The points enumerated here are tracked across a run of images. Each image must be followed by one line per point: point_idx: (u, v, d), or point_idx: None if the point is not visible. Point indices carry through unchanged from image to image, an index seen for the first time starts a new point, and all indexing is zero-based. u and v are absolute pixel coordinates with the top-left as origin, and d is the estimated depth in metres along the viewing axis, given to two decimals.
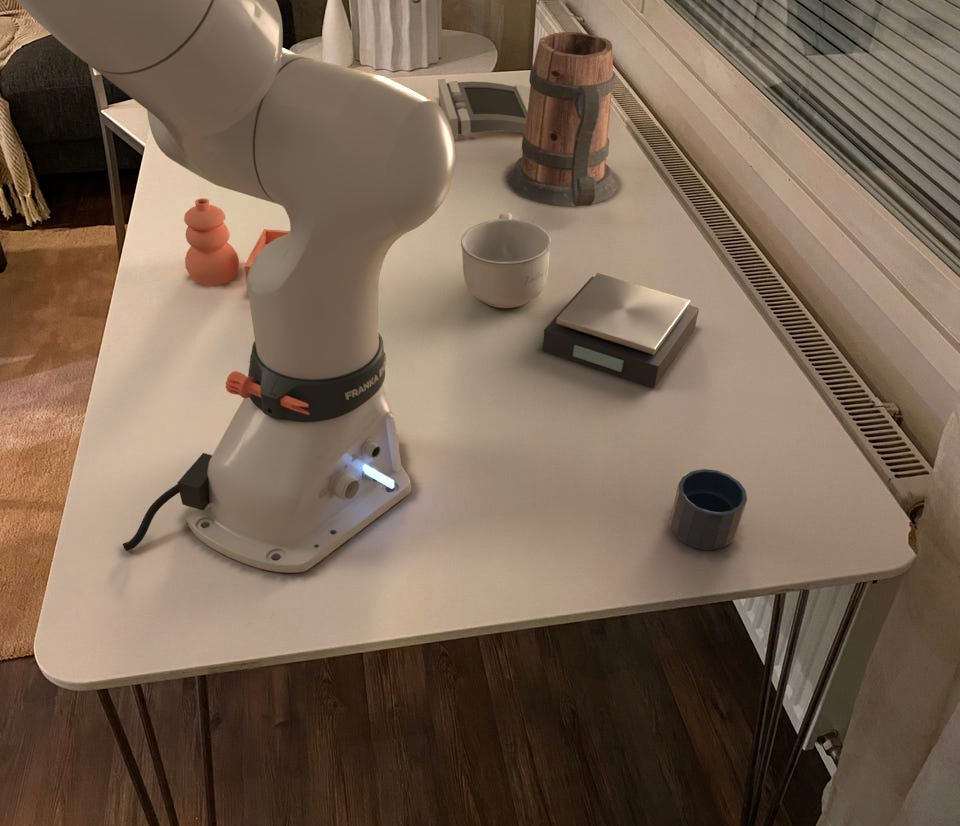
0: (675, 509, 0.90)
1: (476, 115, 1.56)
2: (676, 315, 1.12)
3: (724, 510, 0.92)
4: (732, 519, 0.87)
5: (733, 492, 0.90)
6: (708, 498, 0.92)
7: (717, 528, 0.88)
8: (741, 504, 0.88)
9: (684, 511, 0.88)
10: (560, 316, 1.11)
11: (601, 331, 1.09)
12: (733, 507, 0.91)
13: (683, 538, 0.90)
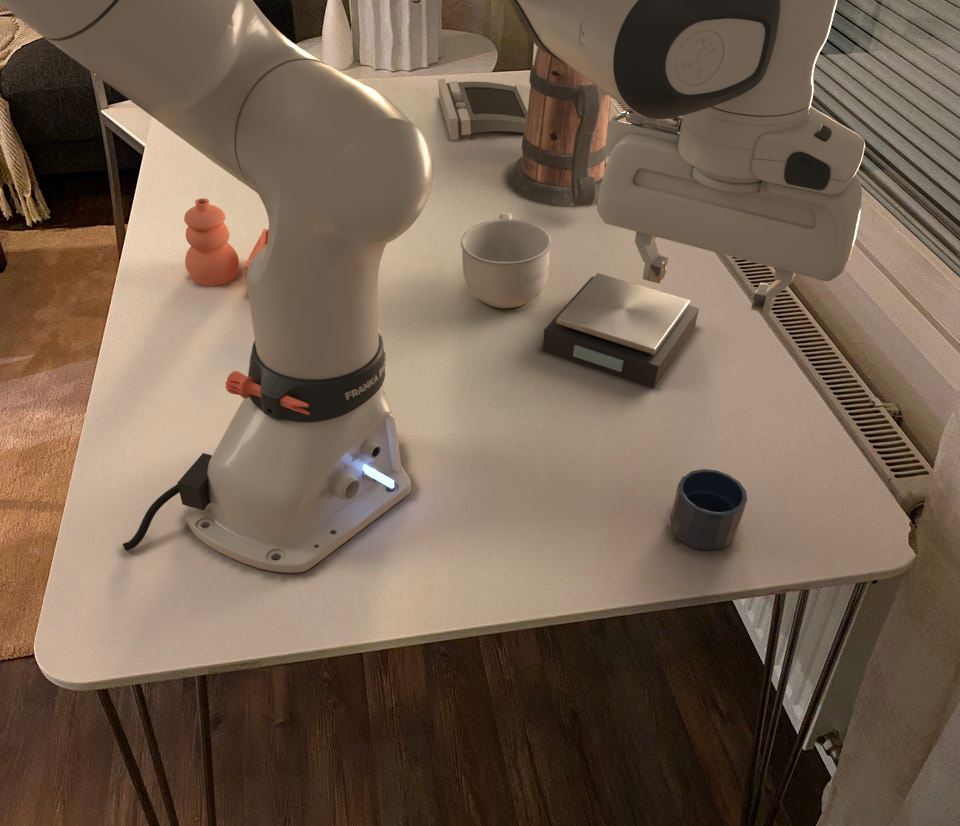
0: (675, 509, 0.90)
1: (476, 115, 1.56)
2: (676, 315, 1.12)
3: (724, 510, 0.92)
4: (732, 519, 0.87)
5: (733, 492, 0.90)
6: (708, 498, 0.92)
7: (717, 528, 0.88)
8: (741, 504, 0.88)
9: (684, 511, 0.88)
10: (560, 316, 1.11)
11: (601, 331, 1.09)
12: (733, 507, 0.91)
13: (683, 538, 0.90)
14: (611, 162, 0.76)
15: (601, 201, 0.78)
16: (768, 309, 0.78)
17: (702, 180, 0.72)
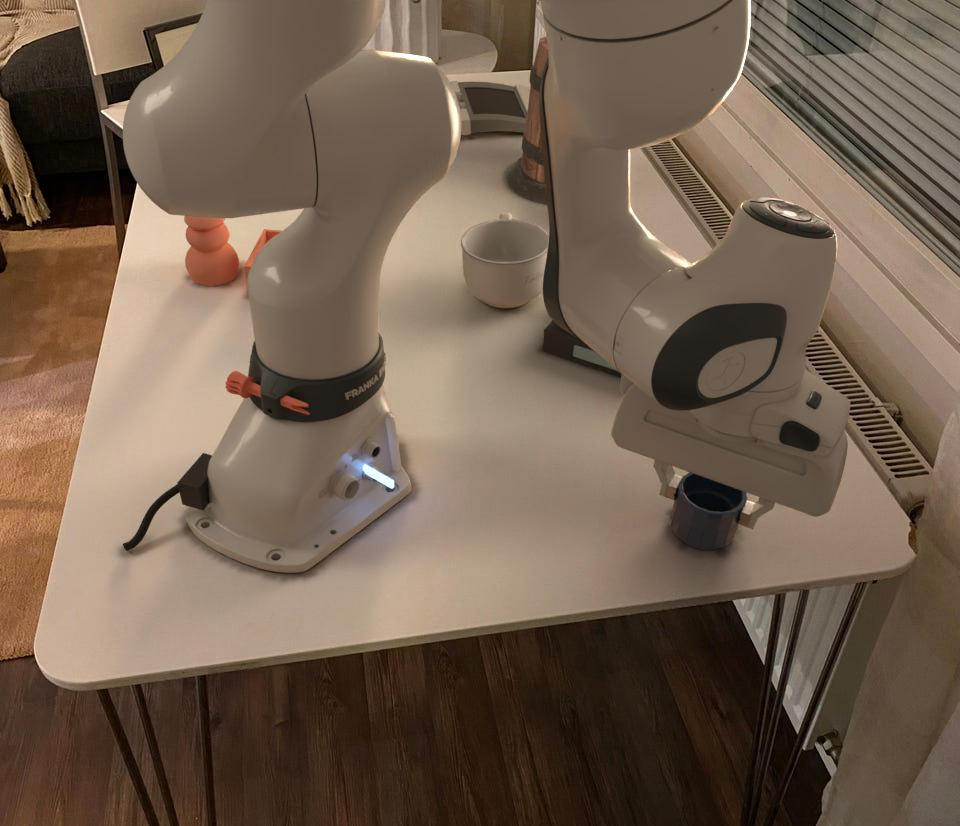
0: (675, 509, 0.90)
1: (476, 115, 1.56)
2: None
3: (724, 510, 0.92)
4: (732, 519, 0.87)
5: (733, 492, 0.91)
6: (708, 498, 0.92)
7: (717, 528, 0.88)
8: (741, 504, 0.88)
9: (684, 511, 0.88)
10: None
11: None
12: (733, 507, 0.91)
13: (683, 538, 0.90)
14: (625, 401, 0.85)
15: (615, 430, 0.88)
16: (752, 526, 0.88)
17: (706, 429, 0.81)
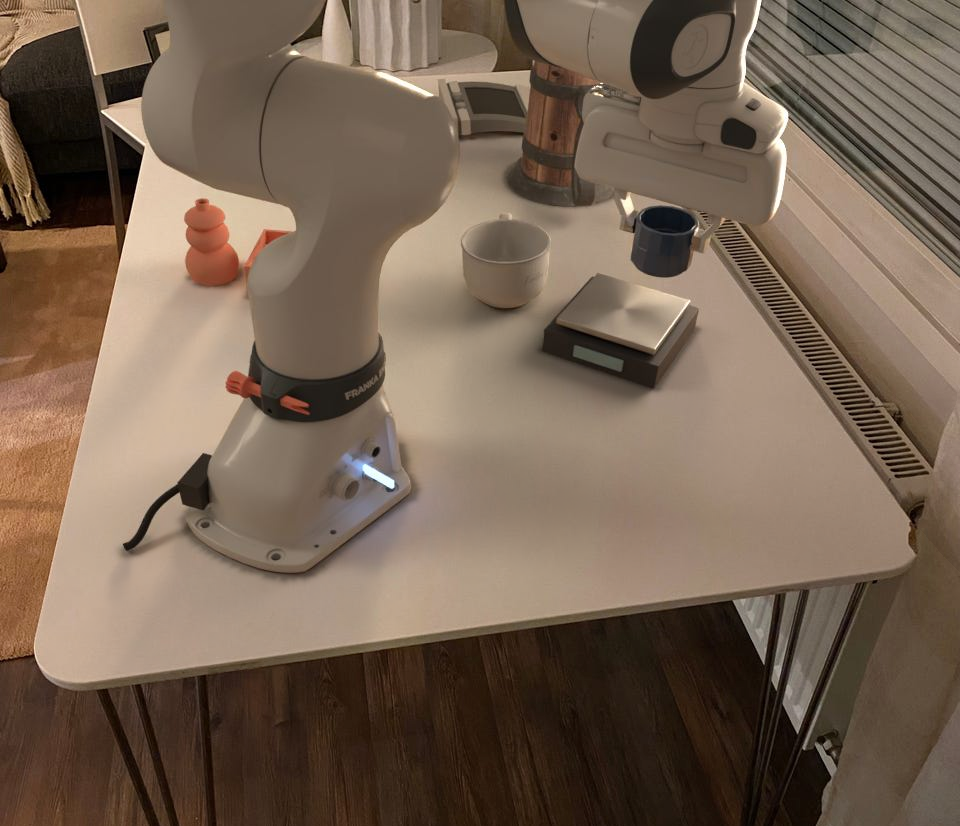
0: (634, 239, 0.98)
1: (476, 115, 1.56)
2: (676, 315, 1.12)
3: None
4: (684, 241, 0.95)
5: (687, 225, 0.99)
6: None
7: (671, 250, 0.96)
8: (693, 228, 0.96)
9: (641, 236, 0.96)
10: (560, 316, 1.11)
11: (601, 331, 1.09)
12: None
13: (640, 266, 0.98)
14: (586, 127, 0.93)
15: (578, 160, 0.96)
16: (703, 249, 0.96)
17: (657, 142, 0.89)
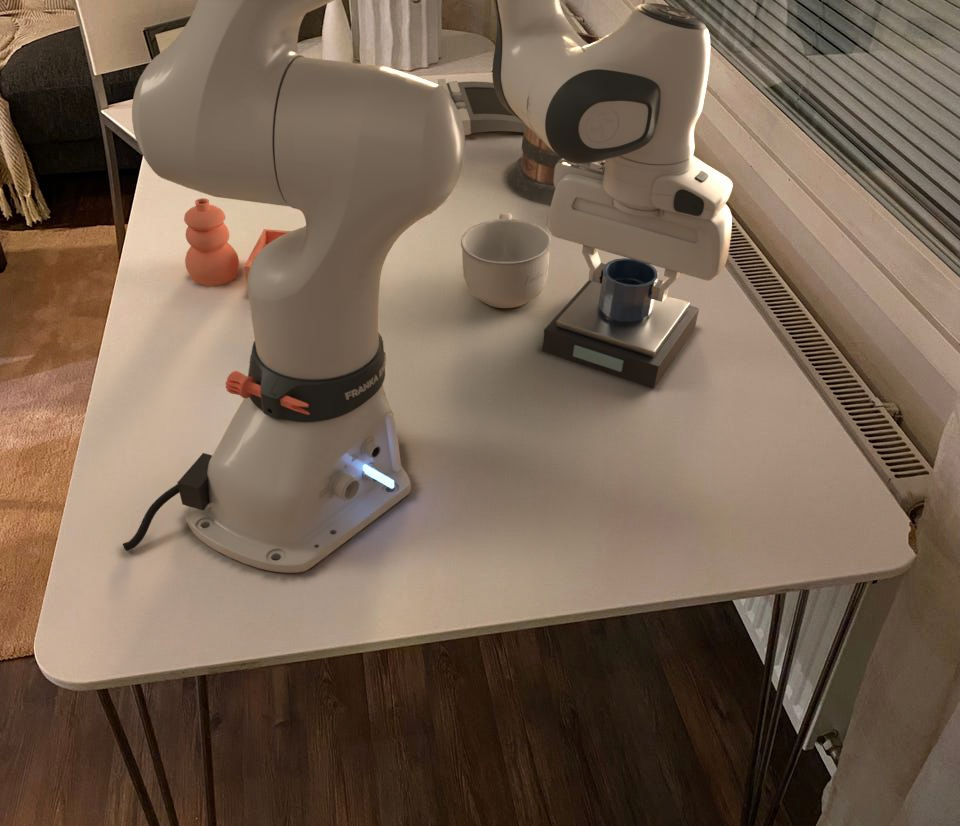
0: (601, 288, 1.11)
1: (476, 115, 1.56)
2: (675, 317, 1.12)
3: None
4: (645, 291, 1.08)
5: (648, 276, 1.11)
6: (629, 284, 1.13)
7: (633, 299, 1.08)
8: (653, 280, 1.08)
9: (607, 287, 1.09)
10: (560, 318, 1.11)
11: (601, 333, 1.09)
12: None
13: (607, 312, 1.11)
14: (557, 193, 1.06)
15: (550, 220, 1.08)
16: (662, 298, 1.08)
17: (619, 207, 1.02)
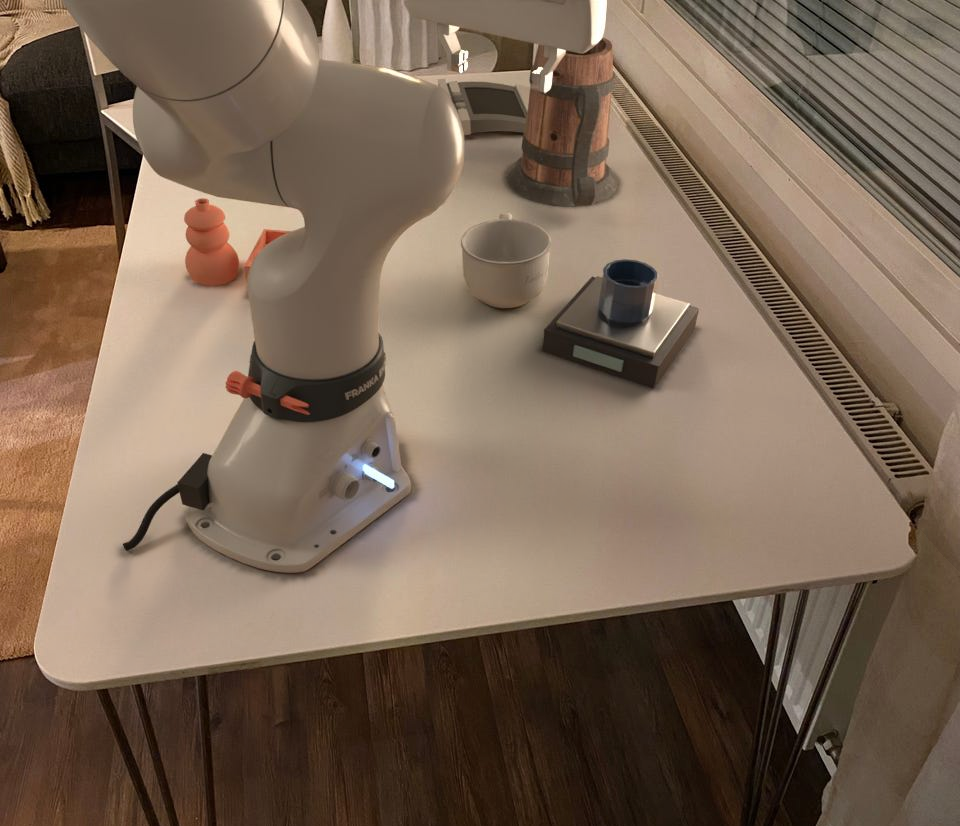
0: (601, 289, 1.11)
1: (476, 115, 1.56)
2: (675, 318, 1.12)
3: None
4: (645, 292, 1.08)
5: (648, 277, 1.11)
6: (629, 285, 1.13)
7: (633, 300, 1.08)
8: (653, 281, 1.08)
9: (607, 288, 1.09)
10: (560, 319, 1.11)
11: (601, 334, 1.09)
12: None
13: (607, 313, 1.11)
14: None
15: None
16: (543, 87, 0.94)
17: None
